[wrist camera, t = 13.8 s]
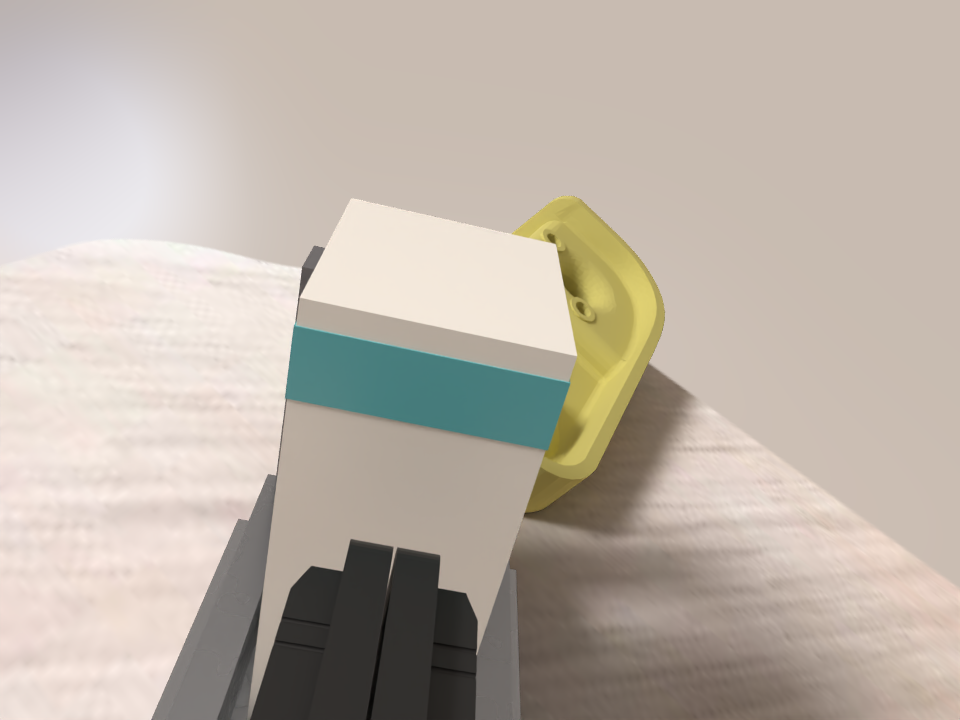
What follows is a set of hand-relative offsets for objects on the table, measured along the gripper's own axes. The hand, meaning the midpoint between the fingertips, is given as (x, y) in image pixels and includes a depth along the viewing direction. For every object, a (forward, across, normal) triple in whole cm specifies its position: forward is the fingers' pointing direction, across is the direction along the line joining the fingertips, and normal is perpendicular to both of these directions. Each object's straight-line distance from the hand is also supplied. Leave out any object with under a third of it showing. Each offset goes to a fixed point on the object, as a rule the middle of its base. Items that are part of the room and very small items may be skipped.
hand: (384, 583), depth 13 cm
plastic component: (+23, -5, +10) cm, 26 cm away
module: (+4, 0, +8) cm, 9 cm away
